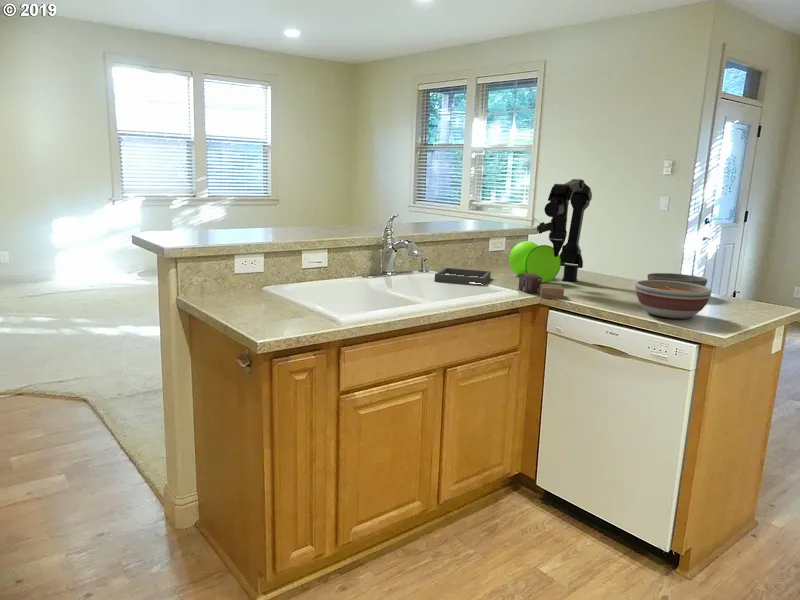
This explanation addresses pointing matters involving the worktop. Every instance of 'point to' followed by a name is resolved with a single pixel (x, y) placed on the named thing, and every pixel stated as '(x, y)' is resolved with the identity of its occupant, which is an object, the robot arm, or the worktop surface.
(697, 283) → the bowl
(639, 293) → the bowl
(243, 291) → the worktop surface
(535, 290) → the box
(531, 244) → the wineglass
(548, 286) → the base block
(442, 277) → the glass rack frame
